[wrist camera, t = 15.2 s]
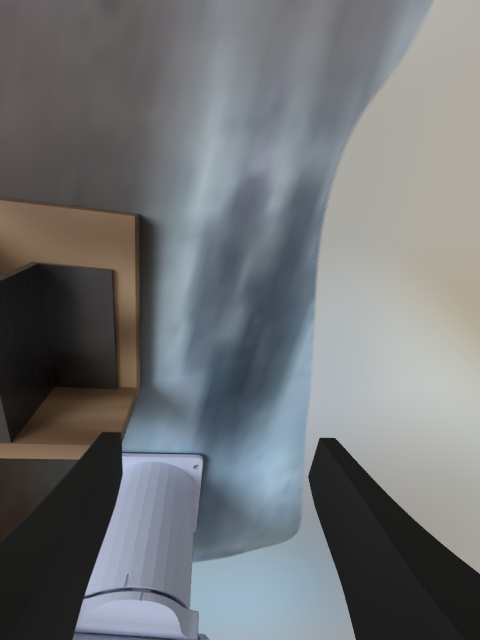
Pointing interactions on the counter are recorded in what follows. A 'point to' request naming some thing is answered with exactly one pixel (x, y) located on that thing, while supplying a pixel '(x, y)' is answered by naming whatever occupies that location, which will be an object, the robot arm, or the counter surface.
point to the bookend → (53, 336)
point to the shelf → (124, 258)
